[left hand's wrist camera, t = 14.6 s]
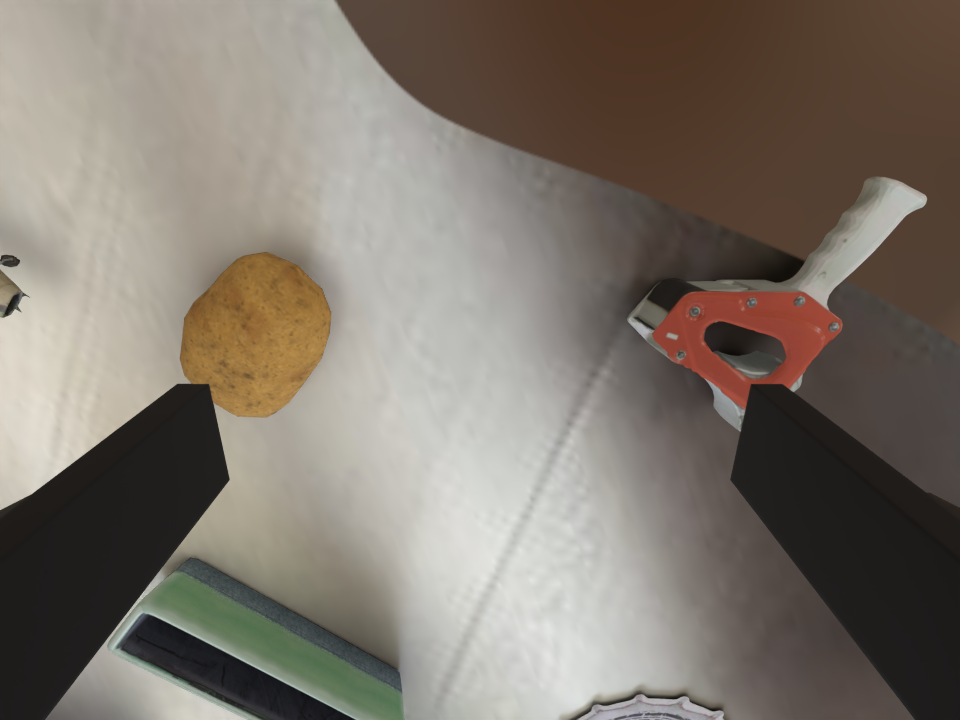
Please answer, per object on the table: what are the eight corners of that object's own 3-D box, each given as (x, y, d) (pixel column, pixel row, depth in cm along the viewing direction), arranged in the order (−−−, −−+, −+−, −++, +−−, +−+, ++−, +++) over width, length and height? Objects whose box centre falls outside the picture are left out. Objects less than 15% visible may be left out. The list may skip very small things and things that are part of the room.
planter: (151, 585, 51) (101, 651, 44) (185, 540, 49) (138, 602, 42) (378, 706, 57) (365, 779, 51) (417, 671, 55) (409, 742, 49)
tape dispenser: (890, 171, 38) (621, 208, 38) (957, 168, 33) (648, 212, 33) (864, 391, 43) (630, 425, 43) (918, 417, 38) (654, 456, 38)
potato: (184, 346, 41) (129, 381, 35) (264, 218, 38) (220, 232, 31) (283, 410, 43) (249, 454, 37) (369, 296, 40) (347, 323, 33)
